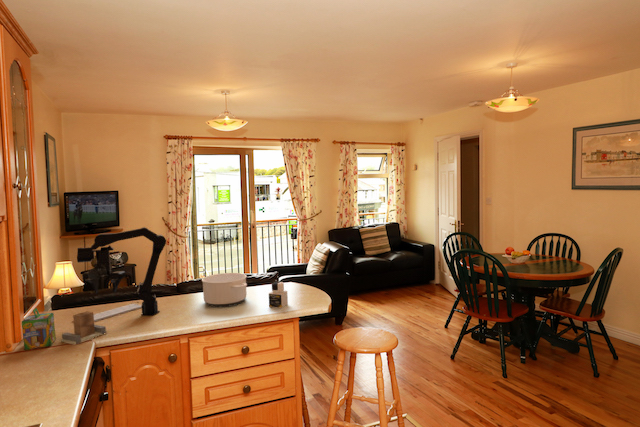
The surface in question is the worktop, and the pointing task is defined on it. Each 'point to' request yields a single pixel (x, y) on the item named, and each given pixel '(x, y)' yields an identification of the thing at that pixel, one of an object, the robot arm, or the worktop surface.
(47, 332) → the chalk box
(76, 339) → the holder
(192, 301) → the worktop surface
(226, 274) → the pot
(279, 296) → the medicine bottle
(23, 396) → the worktop surface
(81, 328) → the brown block
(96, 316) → the baseboard
